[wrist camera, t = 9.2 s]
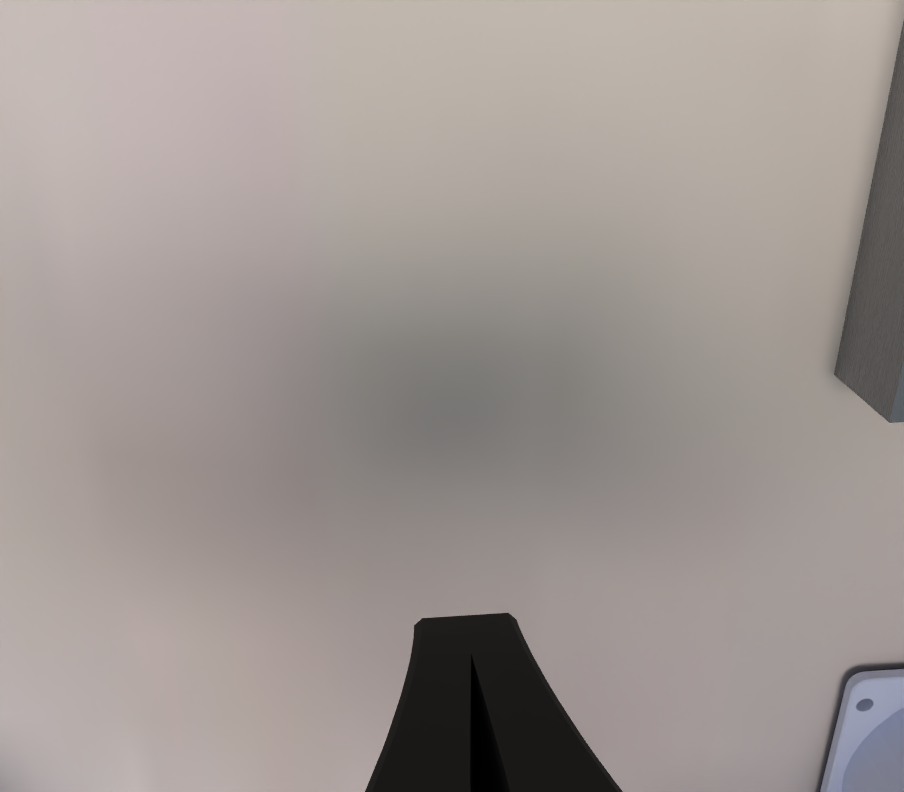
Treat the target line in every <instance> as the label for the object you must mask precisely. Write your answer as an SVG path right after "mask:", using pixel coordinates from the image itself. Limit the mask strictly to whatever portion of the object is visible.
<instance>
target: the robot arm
mask: <svg viewBox="0 0 904 792" xmlns="http://www.w3.org/2000/svg"><path fill="white" fill-rule="evenodd" d="M365 792H622V790H621V789H620V788H619V786H618V785H617V784H616V783H615V781H614V780H613V779H612V777H611V776H610V774H609V773H608V772H607V770H606V769H605V768H604V766H603V765H602V764H601V762H600V761H599V760H598V758H597V757H596V756H595V754H594V753H593V751H592V750H591V749H590V747H589V746H588V744H587V743H586V741H585V740H584V739H583V737H582V736H581V734H580V733H579V731H578V730H577V728H576V726H575V725H574V723H573V722H572V720H571V719H570V717H569V716H568V714H567V713H566V711H565V710H564V708H563V707H562V705H561V703H560V702H559V700H558V699H557V697H556V695H555V694H554V692H553V691H552V689H551V687H550V686H549V684H548V682H547V680H546V679H545V677H544V675H543V673H542V672H541V670H540V668H539V666H538V664H537V663H536V661H535V659H534V657H533V655H532V653H531V651H530V649H529V647H528V645H527V643H526V641H525V639H524V637H523V635H522V633H521V630H520V628H519V626H518V623H517V620H516V619H515V618H514V617H513V616H512V615H510V614H509V613H500V614H484V615H468V616H452V617H436V618H422V619H421V620H420V621H419V622H418V623H416V624H415V625H414V640H413V646H412V653H411V658H410V663H409V667H408V671H407V675H406V679H405V682H404V686H403V690H402V693H401V697H400V700H399V703H398V706H397V709H396V712H395V715H394V718H393V721H392V724H391V727H390V730H389V733H388V736H387V739H386V741H385V744H384V747H383V749H382V752H381V754H380V757H379V759H378V761H377V764H376V766H375V769H374V771H373V774H372V776H371V778H370V781H369V783H368V786H367V788H366V791H365ZM820 792H904V669H894V670H880V671H865V672H860V673H857V674H855V675H853V676H852V677H851V678H850V679H849V680H848V682H847V684H846V687H845V691H844V695H843V699H842V703H841V708H840V712H839V716H838V720H837V724H836V728H835V732H834V736H833V741H832V745H831V749H830V753H829V757H828V761H827V765H826V770H825V774H824V778H823V782H822V786H821V790H820Z"/></svg>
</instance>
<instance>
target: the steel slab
mask: <svg viewBox="0 0 904 792" xmlns="http://www.w3.org/2000/svg"><path fill="white" fill-rule="evenodd" d="M834 375H835V376H836V377H838V378H839V379H840V380H841V381H842V382H843V383H844V384H846V385H847V386H848V387H849V388H850V389H851V390H852V391H854V392H855V393H856V394H857V395H858V396H859V397H860V398H862V399H863V400H864V401H865V402H866V403H867V404H868V405H870V406H871V407H872V408H873V409H874V410H875V411H877V412H878V413H879V414H880V415H881V416H882V417H883V418H885V419H886V420H887V421H888V422H889V423H894V422H904V21H903V27H902V32H901V37H900V42H899V47H898V52H897V57H896V62H895V67H894V72H893V78H892V83H891V88H890V93H889V98H888V103H887V108H886V113H885V118H884V123H883V128H882V134H881V139H880V144H879V149H878V154H877V159H876V164H875V169H874V174H873V179H872V184H871V190H870V195H869V200H868V205H867V210H866V215H865V220H864V225H863V230H862V235H861V240H860V246H859V251H858V256H857V261H856V266H855V271H854V276H853V281H852V286H851V291H850V296H849V302H848V307H847V312H846V317H845V322H844V327H843V332H842V337H841V342H840V347H839V352H838V358H837V363H836V368H835V373H834Z"/></svg>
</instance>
